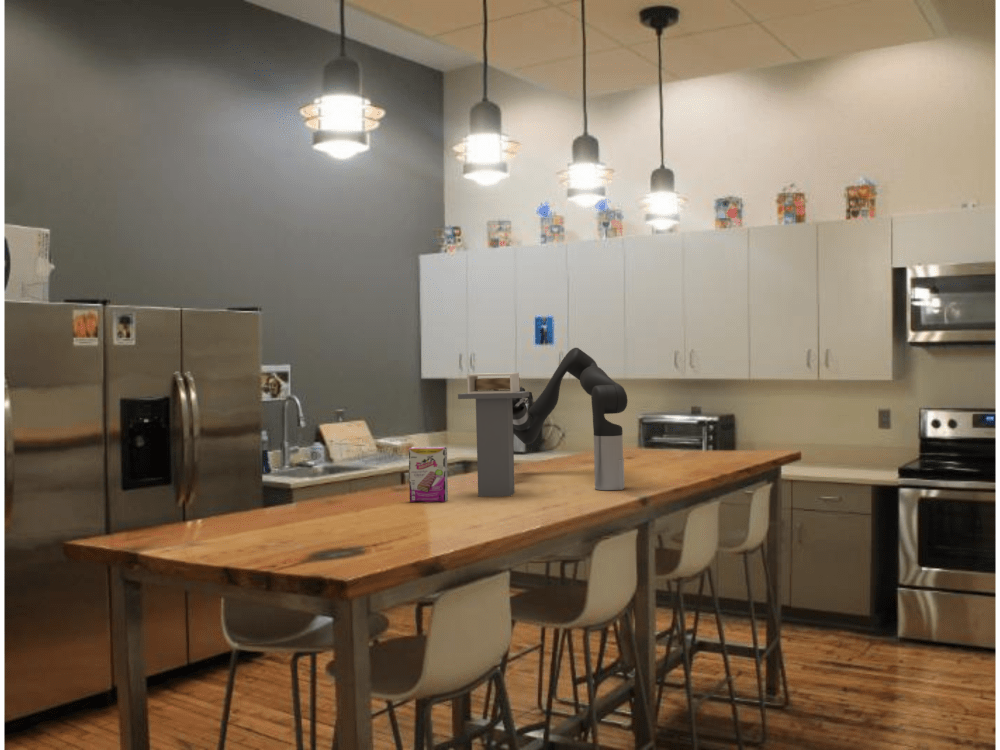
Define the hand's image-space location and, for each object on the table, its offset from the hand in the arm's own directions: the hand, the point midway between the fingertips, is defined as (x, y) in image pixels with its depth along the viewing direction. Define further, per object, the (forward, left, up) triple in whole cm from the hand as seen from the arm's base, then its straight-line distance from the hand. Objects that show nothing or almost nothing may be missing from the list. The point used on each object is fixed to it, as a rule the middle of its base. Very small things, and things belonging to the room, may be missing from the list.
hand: (508, 389), depth 332 cm
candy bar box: (+18, +38, -32) cm, 53 cm away
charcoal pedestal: (0, +24, -32) cm, 40 cm away
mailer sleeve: (0, +24, 0) cm, 24 cm away
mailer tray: (0, +12, +1) cm, 12 cm away
